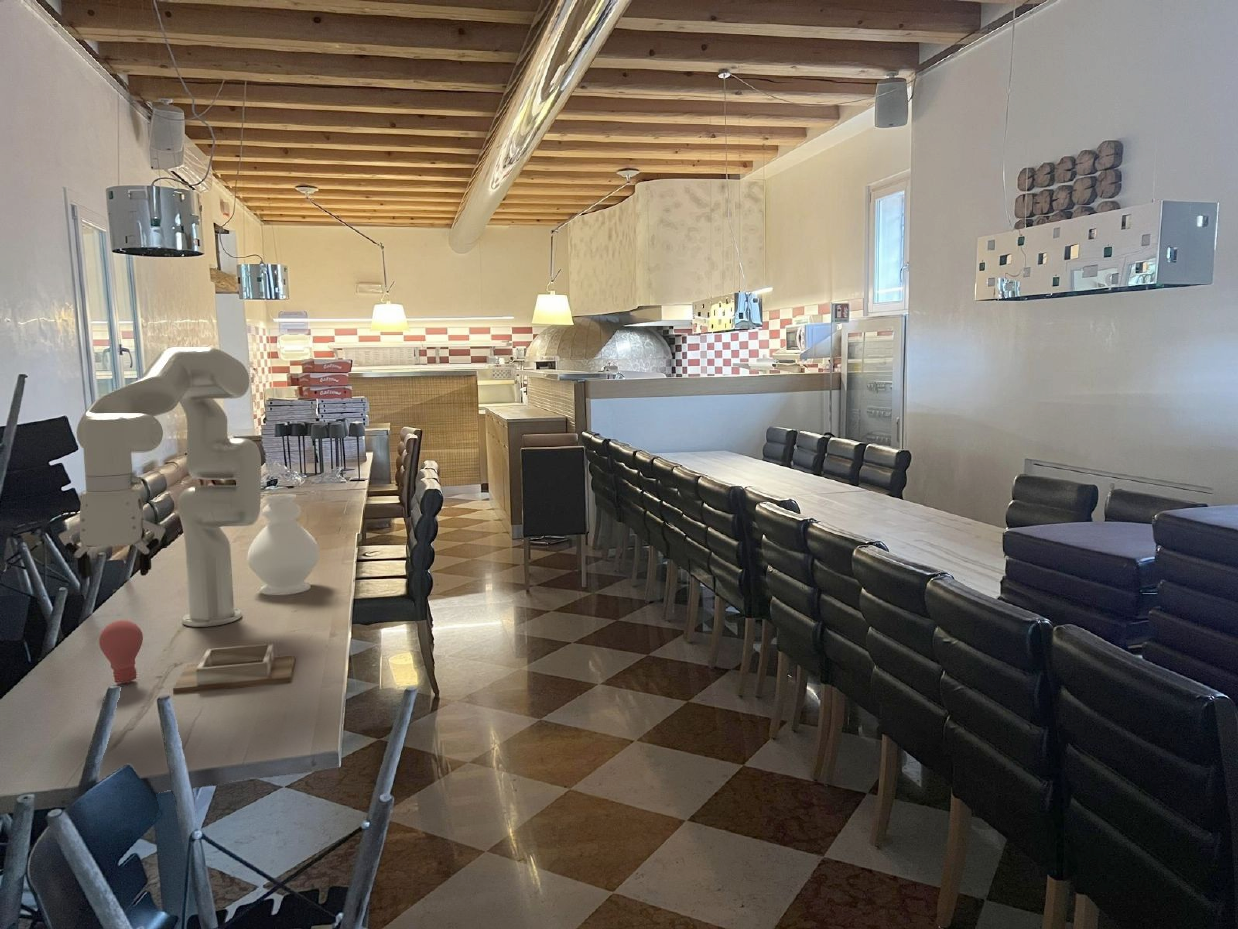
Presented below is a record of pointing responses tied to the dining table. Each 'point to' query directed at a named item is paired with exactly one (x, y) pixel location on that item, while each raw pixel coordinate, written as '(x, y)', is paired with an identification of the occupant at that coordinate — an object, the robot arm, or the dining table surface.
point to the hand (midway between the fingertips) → (115, 575)
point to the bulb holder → (236, 669)
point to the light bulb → (121, 648)
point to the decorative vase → (283, 549)
